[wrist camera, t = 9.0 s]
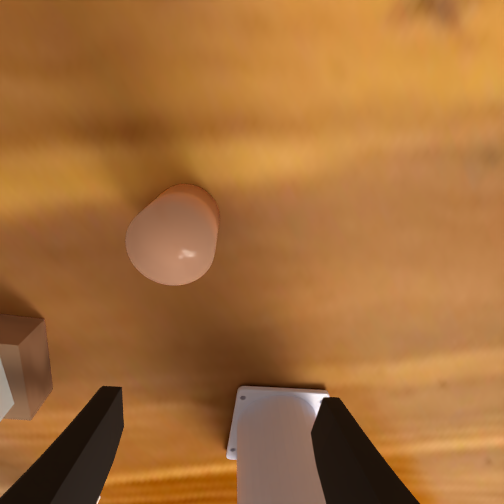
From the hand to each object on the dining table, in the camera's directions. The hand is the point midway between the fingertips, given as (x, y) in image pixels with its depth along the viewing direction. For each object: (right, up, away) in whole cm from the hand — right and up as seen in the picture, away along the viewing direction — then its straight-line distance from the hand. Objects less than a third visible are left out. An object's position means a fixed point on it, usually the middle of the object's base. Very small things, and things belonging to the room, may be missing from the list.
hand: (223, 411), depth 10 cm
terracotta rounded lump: (-3, +8, +7) cm, 11 cm away
